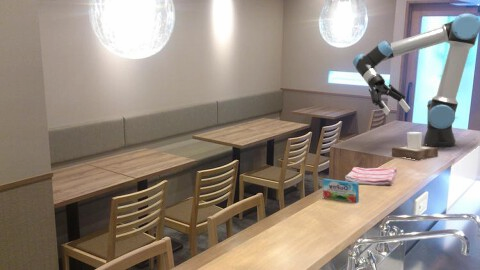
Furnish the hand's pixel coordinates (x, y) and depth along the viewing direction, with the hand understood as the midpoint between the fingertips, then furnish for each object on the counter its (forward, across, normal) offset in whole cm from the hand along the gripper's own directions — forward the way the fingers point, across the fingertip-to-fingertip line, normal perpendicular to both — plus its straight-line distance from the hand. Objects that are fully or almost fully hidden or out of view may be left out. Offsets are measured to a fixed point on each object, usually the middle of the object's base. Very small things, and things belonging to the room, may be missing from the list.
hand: (398, 111), depth 217 cm
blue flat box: (+43, +72, +14) cm, 85 cm away
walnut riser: (+21, 0, -8) cm, 22 cm away
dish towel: (+32, +43, +3) cm, 54 cm away
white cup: (+18, 0, -5) cm, 19 cm away
